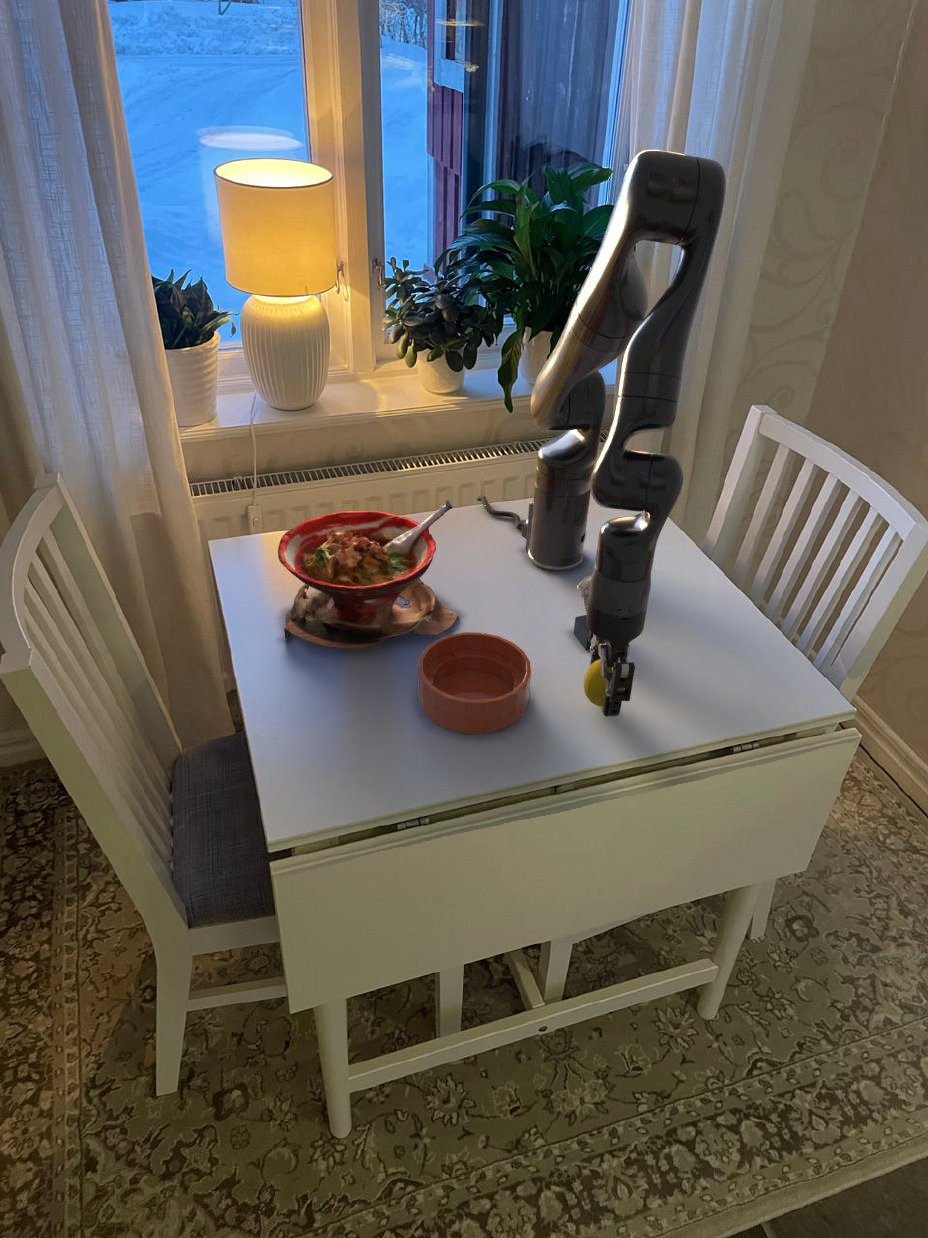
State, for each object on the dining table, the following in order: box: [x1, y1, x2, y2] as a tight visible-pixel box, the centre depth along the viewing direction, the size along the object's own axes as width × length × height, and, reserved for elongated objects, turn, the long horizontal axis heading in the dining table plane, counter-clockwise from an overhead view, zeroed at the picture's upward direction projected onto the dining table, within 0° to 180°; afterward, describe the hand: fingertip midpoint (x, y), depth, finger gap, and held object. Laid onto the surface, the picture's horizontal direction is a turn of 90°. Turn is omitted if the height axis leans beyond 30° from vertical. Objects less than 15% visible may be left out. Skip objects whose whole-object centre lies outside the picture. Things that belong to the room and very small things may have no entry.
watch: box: [572, 574, 592, 651], centre depth 139 cm, size 6×8×11 cm
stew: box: [277, 499, 458, 649], centre depth 141 cm, size 28×24×16 cm
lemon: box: [583, 659, 613, 708], centre depth 127 cm, size 6×6×8 cm
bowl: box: [417, 631, 532, 734], centre depth 128 cm, size 15×15×6 cm
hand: (603, 694), depth 128 cm, fingers open, 8 cm apart
